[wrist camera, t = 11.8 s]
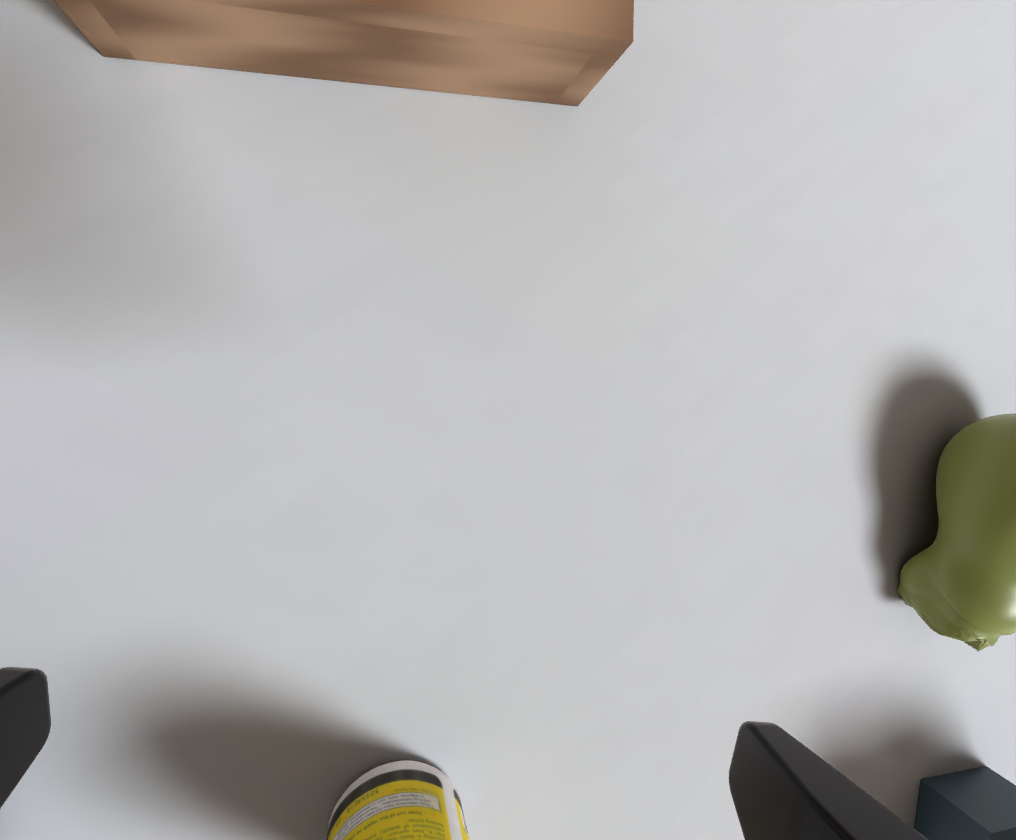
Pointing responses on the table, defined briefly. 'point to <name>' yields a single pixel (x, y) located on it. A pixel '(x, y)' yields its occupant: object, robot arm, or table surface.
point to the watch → (967, 806)
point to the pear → (971, 539)
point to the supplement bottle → (399, 806)
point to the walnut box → (377, 40)
